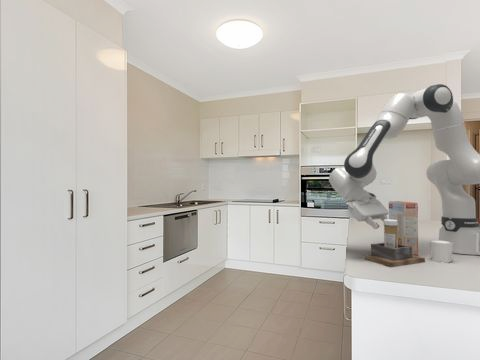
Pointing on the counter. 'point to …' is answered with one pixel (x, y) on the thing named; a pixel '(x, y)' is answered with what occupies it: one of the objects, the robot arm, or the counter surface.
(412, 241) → the cracker box
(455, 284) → the counter surface
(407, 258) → the stand
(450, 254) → the white cup
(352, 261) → the counter surface
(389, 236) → the sprinkles bottle
